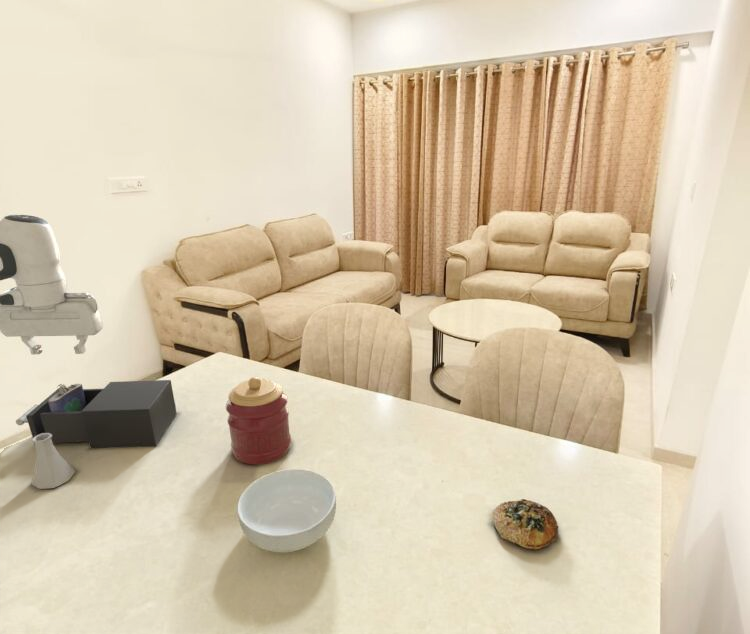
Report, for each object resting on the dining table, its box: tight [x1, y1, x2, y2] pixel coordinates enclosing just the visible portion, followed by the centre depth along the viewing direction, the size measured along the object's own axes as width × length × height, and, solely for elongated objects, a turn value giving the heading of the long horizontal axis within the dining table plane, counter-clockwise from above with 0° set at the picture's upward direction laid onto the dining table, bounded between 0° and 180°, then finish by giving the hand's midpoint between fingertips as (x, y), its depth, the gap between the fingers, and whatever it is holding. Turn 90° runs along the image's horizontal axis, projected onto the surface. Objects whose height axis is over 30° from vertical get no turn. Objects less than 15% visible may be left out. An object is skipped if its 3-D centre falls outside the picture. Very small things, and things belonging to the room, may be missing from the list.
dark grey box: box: [81, 379, 178, 450], centre depth 118 cm, size 15×15×10 cm
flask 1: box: [48, 383, 87, 413], centre depth 116 cm, size 9×3×11 cm, turn 169°
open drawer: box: [15, 387, 104, 443], centre depth 117 cm, size 18×13×8 cm
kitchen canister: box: [225, 376, 292, 466], centre depth 108 cm, size 13×13×18 cm
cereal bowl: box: [236, 468, 337, 554], centre depth 86 cm, size 17×17×7 cm
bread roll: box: [492, 498, 559, 551], centre depth 87 cm, size 11×11×5 cm
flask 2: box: [31, 433, 76, 490], centre depth 101 cm, size 7×7×10 cm
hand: (59, 353), depth 111 cm, fingers open, 8 cm apart
